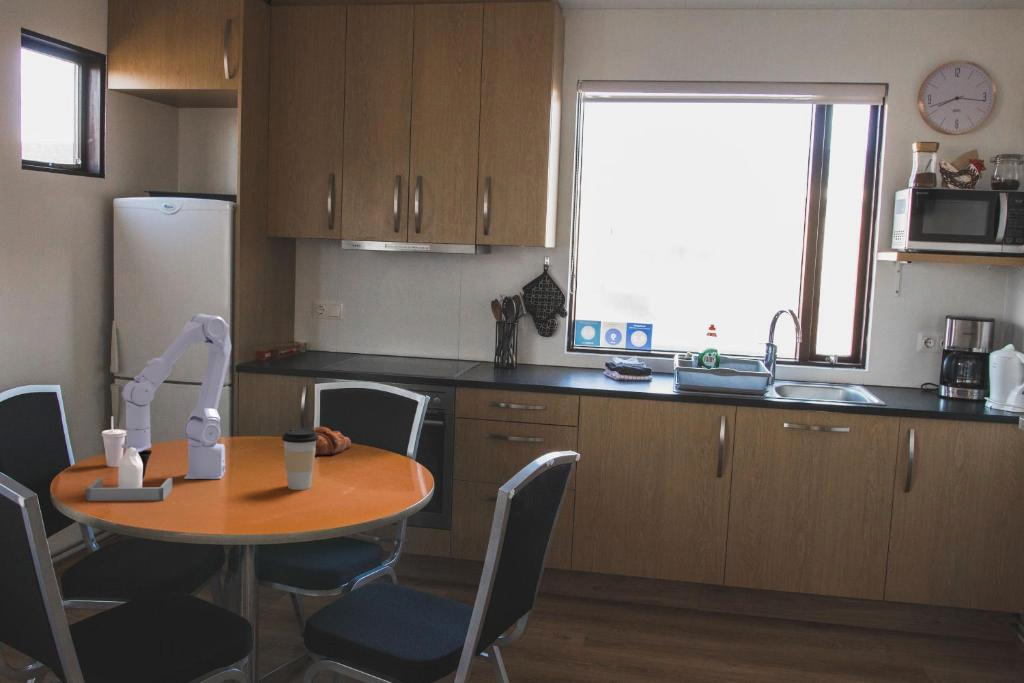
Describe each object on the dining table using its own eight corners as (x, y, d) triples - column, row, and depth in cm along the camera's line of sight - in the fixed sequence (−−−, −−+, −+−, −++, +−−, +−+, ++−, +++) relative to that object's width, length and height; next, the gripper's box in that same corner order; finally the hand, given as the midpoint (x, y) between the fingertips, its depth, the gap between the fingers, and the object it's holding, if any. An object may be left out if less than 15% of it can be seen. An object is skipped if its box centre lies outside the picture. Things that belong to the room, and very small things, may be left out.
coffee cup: (279, 483, 242) (279, 428, 241) (315, 481, 246) (315, 427, 244) (283, 493, 233) (284, 435, 232) (320, 490, 237) (321, 434, 235)
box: (172, 489, 233) (172, 478, 233) (163, 500, 224) (163, 488, 223) (98, 489, 231) (98, 478, 230) (86, 500, 221) (85, 488, 220)
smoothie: (96, 465, 254) (96, 416, 252) (116, 461, 259) (115, 413, 258) (112, 469, 251) (111, 419, 249) (131, 464, 256) (131, 416, 255)
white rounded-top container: (132, 443, 231) (148, 446, 229) (132, 489, 232) (147, 492, 230) (113, 447, 226) (129, 450, 223) (112, 494, 227) (128, 497, 224)
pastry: (303, 445, 289) (303, 420, 288) (352, 446, 290) (352, 421, 289) (294, 458, 272) (294, 431, 271) (346, 459, 273) (346, 432, 272)
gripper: (129, 422, 240) (129, 472, 241) (114, 433, 225) (114, 487, 227) (157, 422, 241) (157, 472, 242) (143, 433, 227) (144, 486, 228)
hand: (138, 479), depth 235 cm, fingers closed
